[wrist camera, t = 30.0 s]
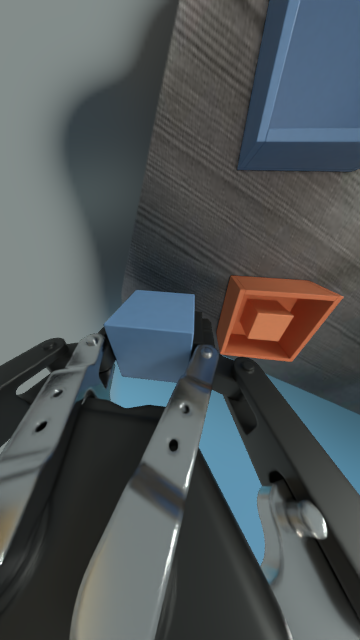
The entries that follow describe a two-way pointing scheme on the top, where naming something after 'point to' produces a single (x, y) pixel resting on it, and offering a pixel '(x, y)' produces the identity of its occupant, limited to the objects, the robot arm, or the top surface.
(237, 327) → the terracotta bin
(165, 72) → the top surface
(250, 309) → the terracotta block
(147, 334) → the blue block
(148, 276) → the top surface
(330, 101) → the blue bin
